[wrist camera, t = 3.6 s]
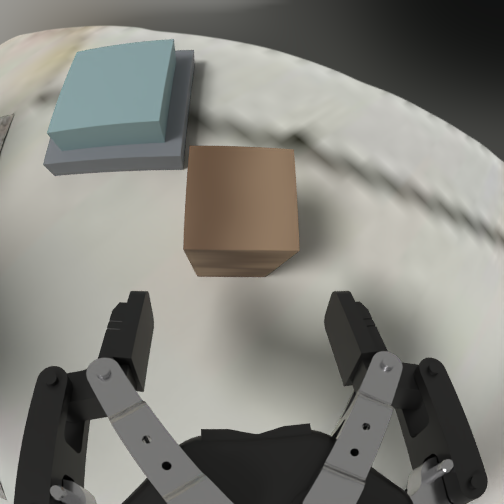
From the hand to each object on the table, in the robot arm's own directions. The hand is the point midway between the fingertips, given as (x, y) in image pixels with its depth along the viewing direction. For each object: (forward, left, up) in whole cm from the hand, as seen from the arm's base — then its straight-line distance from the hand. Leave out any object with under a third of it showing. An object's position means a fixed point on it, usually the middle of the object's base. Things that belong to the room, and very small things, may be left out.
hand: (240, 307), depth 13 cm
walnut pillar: (0, -5, -10) cm, 11 cm away
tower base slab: (+10, -17, -10) cm, 22 cm away
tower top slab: (+10, -17, -7) cm, 21 cm away
